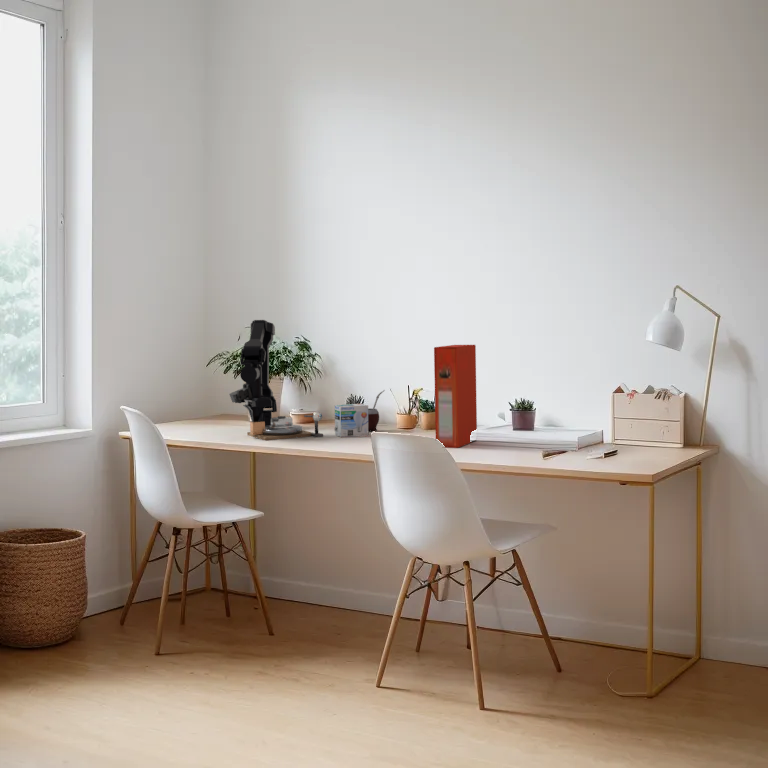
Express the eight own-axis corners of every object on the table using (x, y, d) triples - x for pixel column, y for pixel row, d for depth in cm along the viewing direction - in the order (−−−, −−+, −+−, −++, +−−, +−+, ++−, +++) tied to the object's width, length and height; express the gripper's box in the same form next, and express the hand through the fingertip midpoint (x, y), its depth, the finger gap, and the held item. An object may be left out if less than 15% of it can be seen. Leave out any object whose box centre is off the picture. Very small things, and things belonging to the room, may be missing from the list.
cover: (266, 426, 351) (265, 416, 351) (287, 425, 356) (287, 414, 355) (275, 429, 344) (275, 418, 344) (297, 427, 348) (297, 416, 348)
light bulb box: (340, 437, 344) (340, 406, 343) (334, 435, 350) (333, 404, 349) (369, 435, 348) (369, 404, 347) (362, 433, 354) (362, 403, 353)
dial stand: (304, 436, 348) (303, 411, 348) (316, 434, 351) (316, 410, 350) (310, 437, 344) (309, 412, 343) (323, 436, 346) (322, 412, 346)
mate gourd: (356, 431, 360) (355, 389, 359) (373, 429, 365) (373, 388, 364) (368, 433, 354) (367, 391, 353) (385, 431, 359) (385, 389, 358)
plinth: (247, 435, 353) (247, 432, 353) (296, 431, 362) (296, 428, 362) (264, 440, 339) (264, 437, 339) (315, 436, 348) (315, 433, 348)
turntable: (244, 432, 352) (243, 420, 351) (292, 428, 360) (291, 416, 360) (259, 436, 338) (259, 424, 338) (309, 432, 347) (309, 420, 347)
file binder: (434, 446, 318) (434, 346, 315) (454, 439, 333) (453, 344, 331) (458, 448, 314) (457, 347, 312) (477, 441, 330) (476, 344, 327)
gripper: (222, 380, 353) (223, 424, 354) (241, 383, 337) (242, 429, 338) (251, 378, 358) (252, 421, 359) (272, 381, 342) (273, 426, 343)
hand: (254, 424), depth 350 cm, fingers closed
